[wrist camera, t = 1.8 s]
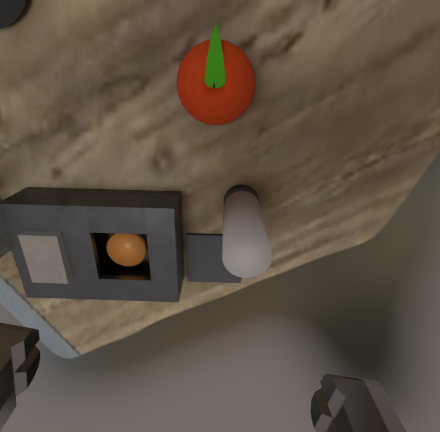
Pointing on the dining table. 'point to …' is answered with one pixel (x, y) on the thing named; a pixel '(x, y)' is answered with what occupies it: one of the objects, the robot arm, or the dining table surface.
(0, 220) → the small box
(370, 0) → the dining table surface
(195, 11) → the dining table surface
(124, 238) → the orange rounded piece
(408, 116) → the dining table surface
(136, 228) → the panel
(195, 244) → the mat
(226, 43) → the clementine
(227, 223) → the white cylinder
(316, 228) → the dining table surface
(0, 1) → the mug
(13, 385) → the robot arm
